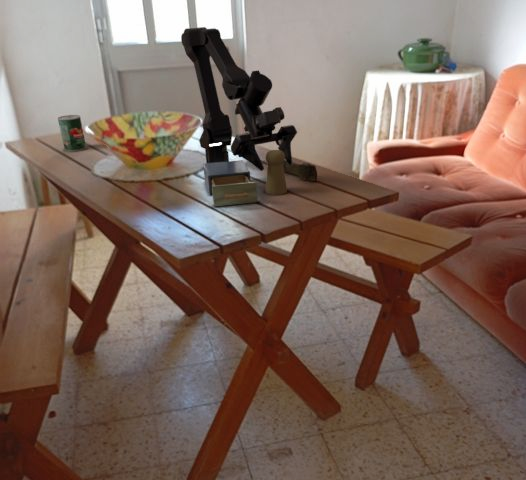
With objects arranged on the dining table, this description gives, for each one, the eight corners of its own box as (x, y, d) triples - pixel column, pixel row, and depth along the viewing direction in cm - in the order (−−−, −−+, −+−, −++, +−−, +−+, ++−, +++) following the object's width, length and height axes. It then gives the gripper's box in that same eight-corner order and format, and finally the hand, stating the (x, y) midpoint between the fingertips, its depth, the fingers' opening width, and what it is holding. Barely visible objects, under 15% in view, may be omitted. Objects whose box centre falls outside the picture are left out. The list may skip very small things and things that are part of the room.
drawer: (260, 206, 145) (259, 186, 142) (215, 210, 143) (213, 190, 140) (249, 187, 158) (248, 169, 155) (208, 191, 156) (206, 173, 154)
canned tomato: (83, 151, 203) (76, 118, 197) (61, 151, 203) (54, 119, 197) (89, 145, 210) (82, 114, 204) (68, 146, 210) (61, 115, 204)
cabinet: (251, 191, 156) (250, 171, 153) (209, 195, 154) (207, 175, 151) (243, 179, 166) (242, 160, 163) (204, 182, 165) (203, 163, 162)
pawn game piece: (280, 196, 152) (279, 154, 146) (261, 193, 155) (259, 152, 148) (291, 189, 156) (290, 149, 150) (272, 187, 159) (271, 147, 153)
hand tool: (269, 171, 172) (269, 155, 170) (279, 168, 174) (279, 153, 172) (309, 185, 159) (309, 168, 157) (319, 182, 161) (320, 165, 159)
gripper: (232, 102, 142) (258, 155, 140) (292, 92, 150) (317, 142, 148) (220, 129, 151) (243, 179, 150) (277, 119, 160) (300, 167, 158)
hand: (277, 166), depth 151 cm, fingers open, 9 cm apart
